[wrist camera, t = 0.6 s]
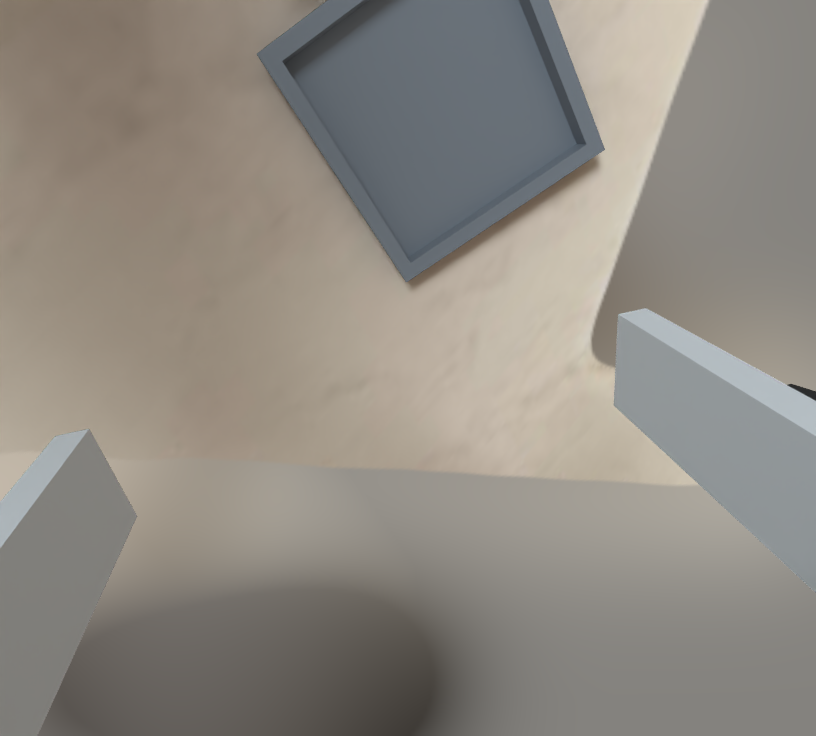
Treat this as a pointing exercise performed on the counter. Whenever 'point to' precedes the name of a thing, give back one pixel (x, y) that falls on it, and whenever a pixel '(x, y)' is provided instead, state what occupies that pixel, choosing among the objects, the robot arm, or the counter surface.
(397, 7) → the tray
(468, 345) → the counter surface
